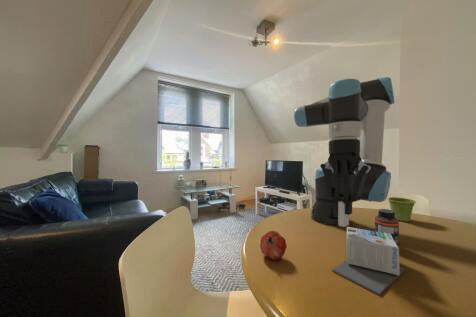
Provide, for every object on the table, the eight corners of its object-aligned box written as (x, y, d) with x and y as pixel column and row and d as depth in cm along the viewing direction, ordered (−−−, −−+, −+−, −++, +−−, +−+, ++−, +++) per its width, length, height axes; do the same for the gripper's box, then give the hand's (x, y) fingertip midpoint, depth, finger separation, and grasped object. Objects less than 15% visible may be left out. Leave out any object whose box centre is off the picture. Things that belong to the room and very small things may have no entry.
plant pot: (422, 223, 79) (422, 202, 79) (398, 223, 80) (399, 202, 79) (402, 215, 89) (403, 197, 89) (382, 216, 89) (382, 197, 89)
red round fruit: (264, 256, 60) (249, 246, 53) (274, 233, 62) (260, 222, 56) (285, 268, 54) (271, 259, 48) (295, 243, 57) (283, 231, 51)
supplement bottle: (376, 240, 65) (377, 206, 64) (399, 246, 60) (400, 210, 60) (372, 246, 60) (372, 210, 60) (397, 253, 56) (397, 214, 56)
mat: (332, 271, 48) (332, 269, 48) (360, 253, 56) (360, 251, 56) (379, 295, 40) (379, 293, 40) (404, 270, 48) (404, 268, 48)
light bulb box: (346, 226, 59) (390, 232, 53) (346, 248, 59) (390, 257, 53) (346, 238, 49) (400, 247, 44) (346, 264, 49) (400, 277, 44)
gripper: (314, 140, 56) (314, 220, 56) (363, 136, 45) (362, 236, 46) (329, 141, 60) (328, 216, 61) (377, 137, 49) (376, 229, 50)
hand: (343, 224), depth 53 cm, fingers closed
